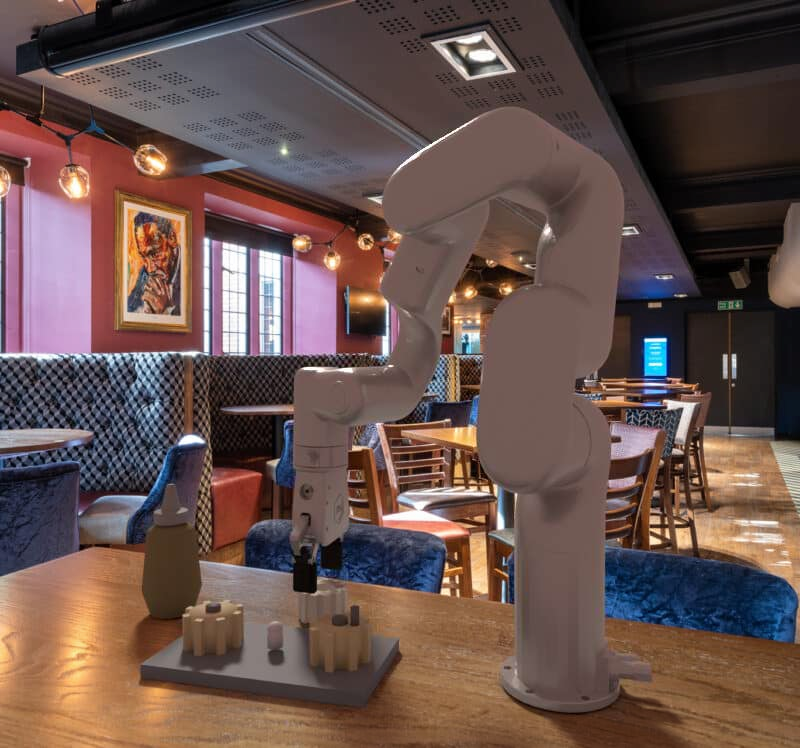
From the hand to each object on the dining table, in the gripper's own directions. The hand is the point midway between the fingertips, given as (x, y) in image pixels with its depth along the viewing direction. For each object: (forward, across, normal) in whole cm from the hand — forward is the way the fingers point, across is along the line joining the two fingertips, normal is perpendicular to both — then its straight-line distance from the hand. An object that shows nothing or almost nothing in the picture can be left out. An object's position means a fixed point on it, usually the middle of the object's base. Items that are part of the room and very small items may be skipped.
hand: (318, 579), depth 93 cm
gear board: (+5, -15, -1) cm, 16 cm away
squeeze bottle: (+6, -4, +20) cm, 21 cm away
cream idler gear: (+5, 0, -1) cm, 5 cm away
